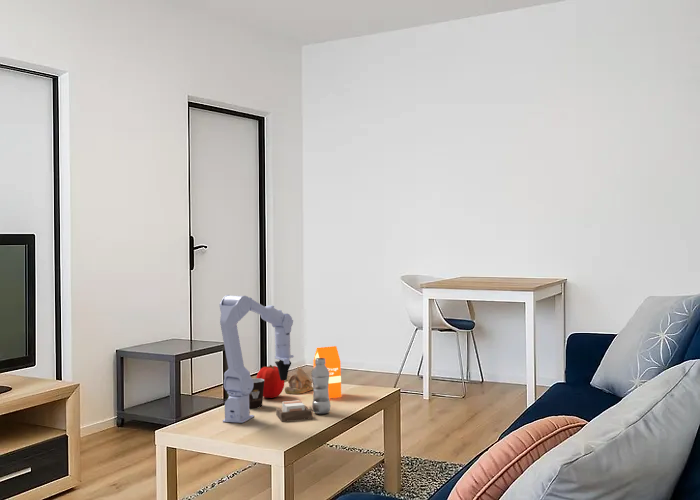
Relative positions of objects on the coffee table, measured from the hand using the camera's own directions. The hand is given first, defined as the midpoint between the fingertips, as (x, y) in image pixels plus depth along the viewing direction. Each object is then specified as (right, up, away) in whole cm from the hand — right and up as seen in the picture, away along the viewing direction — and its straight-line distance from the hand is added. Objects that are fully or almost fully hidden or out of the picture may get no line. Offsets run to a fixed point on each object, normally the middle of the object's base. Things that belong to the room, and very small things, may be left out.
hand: (283, 380), depth 275 cm
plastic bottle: (+15, -10, -13) cm, 22 cm away
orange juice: (+16, -10, +15) cm, 24 cm away
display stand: (+5, -10, -17) cm, 20 cm away
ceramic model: (+4, -10, +27) cm, 29 cm away
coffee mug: (-13, -10, 0) cm, 17 cm away
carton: (+5, -10, -17) cm, 20 cm away
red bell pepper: (-7, -10, +15) cm, 19 cm away
